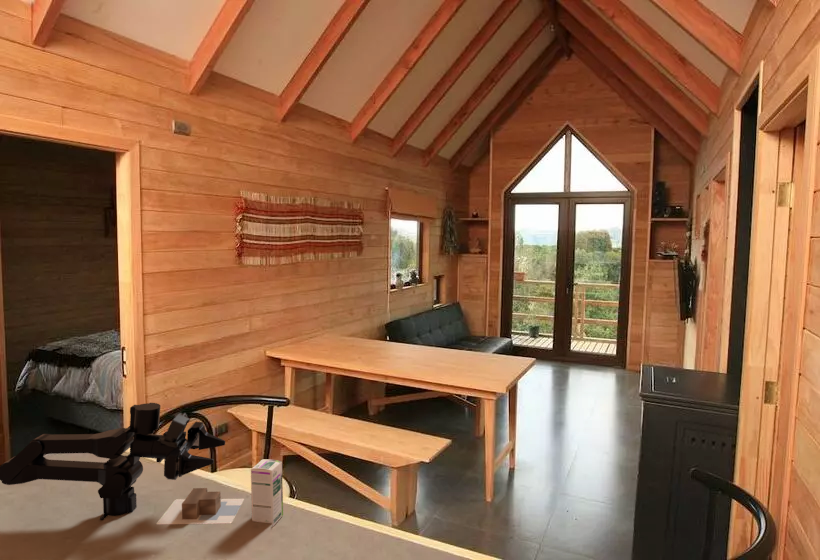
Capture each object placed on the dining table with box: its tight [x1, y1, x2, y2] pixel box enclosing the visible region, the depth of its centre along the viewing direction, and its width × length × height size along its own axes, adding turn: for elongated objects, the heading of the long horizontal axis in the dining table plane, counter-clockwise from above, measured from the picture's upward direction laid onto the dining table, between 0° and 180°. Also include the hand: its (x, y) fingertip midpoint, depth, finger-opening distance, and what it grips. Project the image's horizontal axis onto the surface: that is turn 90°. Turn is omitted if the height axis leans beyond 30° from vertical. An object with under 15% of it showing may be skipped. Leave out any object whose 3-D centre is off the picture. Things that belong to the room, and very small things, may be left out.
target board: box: [155, 498, 245, 525], centre depth 132 cm, size 18×12×1 cm, turn 93°
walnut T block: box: [182, 487, 222, 520], centre depth 132 cm, size 8×8×4 cm
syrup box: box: [250, 459, 284, 528], centre depth 130 cm, size 6×6×14 cm
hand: (219, 451), depth 132 cm, fingers open, 9 cm apart
